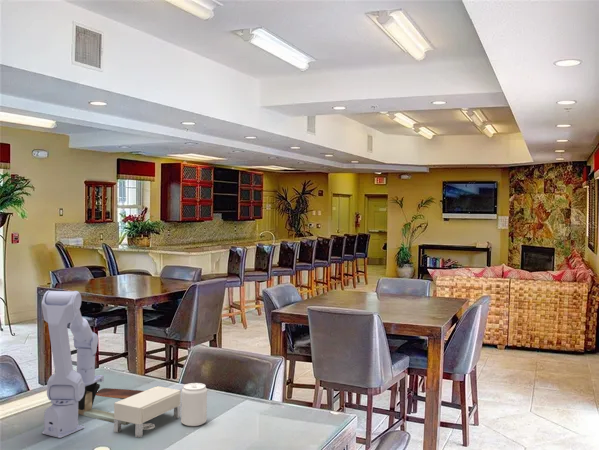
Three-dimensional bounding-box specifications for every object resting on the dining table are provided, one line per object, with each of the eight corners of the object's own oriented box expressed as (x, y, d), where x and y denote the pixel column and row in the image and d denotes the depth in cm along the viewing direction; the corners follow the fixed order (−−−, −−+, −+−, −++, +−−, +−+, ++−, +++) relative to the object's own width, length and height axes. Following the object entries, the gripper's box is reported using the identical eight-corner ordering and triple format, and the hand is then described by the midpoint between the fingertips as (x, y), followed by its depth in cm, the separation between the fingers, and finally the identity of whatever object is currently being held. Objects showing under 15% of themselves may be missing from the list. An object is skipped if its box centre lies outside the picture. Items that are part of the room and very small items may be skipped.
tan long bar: (125, 425, 177) (125, 403, 177) (77, 414, 186) (77, 393, 186) (133, 421, 181) (134, 399, 181) (86, 410, 190) (86, 390, 190)
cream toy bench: (140, 438, 167) (140, 408, 167) (113, 431, 171) (114, 402, 171) (181, 417, 185) (181, 390, 185) (156, 412, 189) (157, 386, 189)
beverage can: (182, 428, 175) (182, 390, 175) (180, 419, 183) (181, 383, 183) (207, 426, 177) (208, 388, 177) (205, 417, 185) (205, 381, 185)
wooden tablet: (89, 392, 207) (105, 382, 216) (89, 398, 207) (105, 387, 216) (152, 400, 199) (166, 389, 209) (152, 406, 200) (166, 395, 209)
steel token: (148, 431, 173) (148, 429, 173) (137, 429, 175) (137, 426, 175) (157, 427, 177) (157, 424, 177) (147, 424, 179) (147, 422, 179)
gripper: (93, 361, 195) (92, 399, 196) (59, 370, 182) (59, 412, 182) (108, 363, 192) (107, 402, 193) (75, 373, 179) (74, 415, 179)
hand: (85, 407), depth 187 cm, fingers open, 3 cm apart
